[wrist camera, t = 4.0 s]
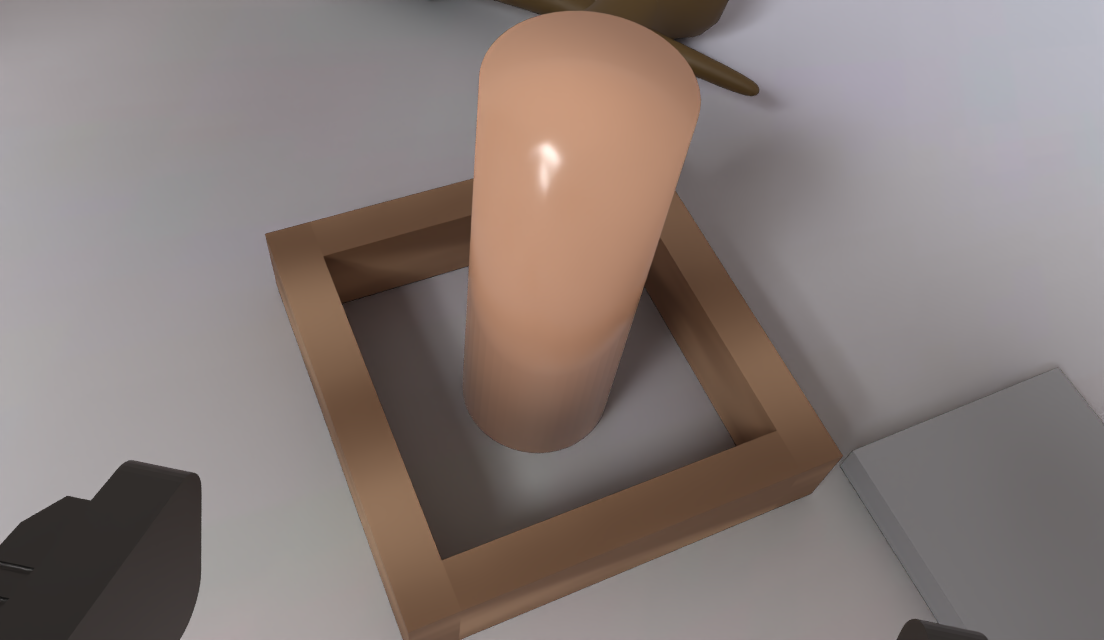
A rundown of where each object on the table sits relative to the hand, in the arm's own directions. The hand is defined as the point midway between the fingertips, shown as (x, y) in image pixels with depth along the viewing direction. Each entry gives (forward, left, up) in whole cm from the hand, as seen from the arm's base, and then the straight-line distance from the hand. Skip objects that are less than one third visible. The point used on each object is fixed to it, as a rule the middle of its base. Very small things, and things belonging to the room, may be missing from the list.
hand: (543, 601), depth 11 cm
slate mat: (+1, +20, -18) cm, 27 cm away
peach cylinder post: (-11, +7, -18) cm, 23 cm away
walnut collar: (-11, +7, -18) cm, 23 cm away
